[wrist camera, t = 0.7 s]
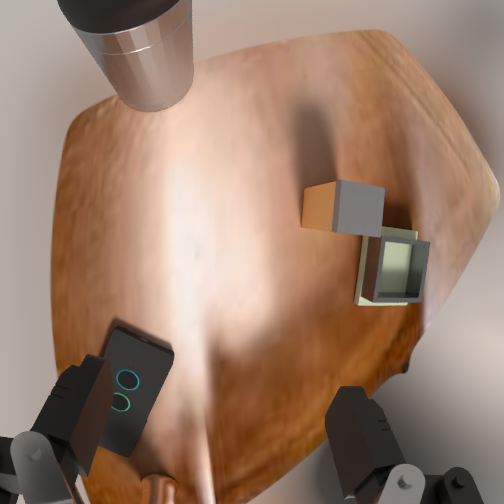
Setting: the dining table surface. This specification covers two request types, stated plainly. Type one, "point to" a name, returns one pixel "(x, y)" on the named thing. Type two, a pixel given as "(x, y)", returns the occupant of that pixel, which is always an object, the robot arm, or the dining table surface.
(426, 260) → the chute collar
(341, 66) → the dining table surface
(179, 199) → the dining table surface
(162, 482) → the beer glass
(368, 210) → the chute block
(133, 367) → the smart home device
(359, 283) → the cream flat slab
